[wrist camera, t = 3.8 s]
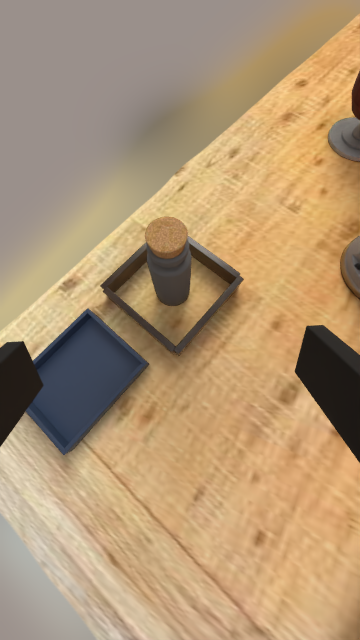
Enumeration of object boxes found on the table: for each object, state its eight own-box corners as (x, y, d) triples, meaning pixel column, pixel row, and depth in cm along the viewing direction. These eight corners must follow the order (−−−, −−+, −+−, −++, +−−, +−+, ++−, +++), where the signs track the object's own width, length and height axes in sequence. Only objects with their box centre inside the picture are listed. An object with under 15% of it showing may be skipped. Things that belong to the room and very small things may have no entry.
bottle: (151, 300, 38) (131, 248, 24) (162, 271, 40) (150, 206, 25) (183, 310, 37) (183, 263, 23) (193, 280, 39) (199, 219, 25)
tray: (93, 312, 38) (87, 308, 35) (149, 364, 35) (147, 362, 33) (16, 387, 34) (4, 387, 32) (72, 450, 32) (63, 455, 29)
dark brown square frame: (169, 233, 42) (167, 221, 39) (240, 285, 38) (245, 277, 35) (105, 295, 38) (98, 287, 35) (177, 359, 35) (176, 356, 32)
